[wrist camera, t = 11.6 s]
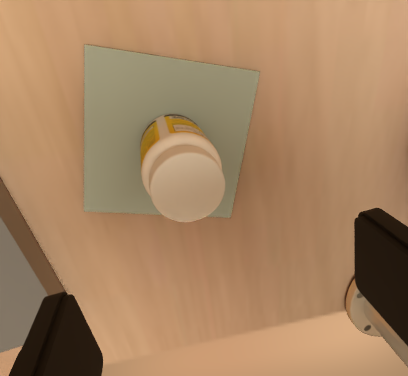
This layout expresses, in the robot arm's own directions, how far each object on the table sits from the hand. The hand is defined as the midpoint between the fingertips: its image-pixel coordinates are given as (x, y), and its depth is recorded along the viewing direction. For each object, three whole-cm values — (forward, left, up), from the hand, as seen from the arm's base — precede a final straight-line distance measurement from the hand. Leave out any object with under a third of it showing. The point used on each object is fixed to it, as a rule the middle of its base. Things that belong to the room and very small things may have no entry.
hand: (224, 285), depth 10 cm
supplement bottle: (0, 0, -16) cm, 16 cm away
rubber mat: (+1, 0, -16) cm, 16 cm away
